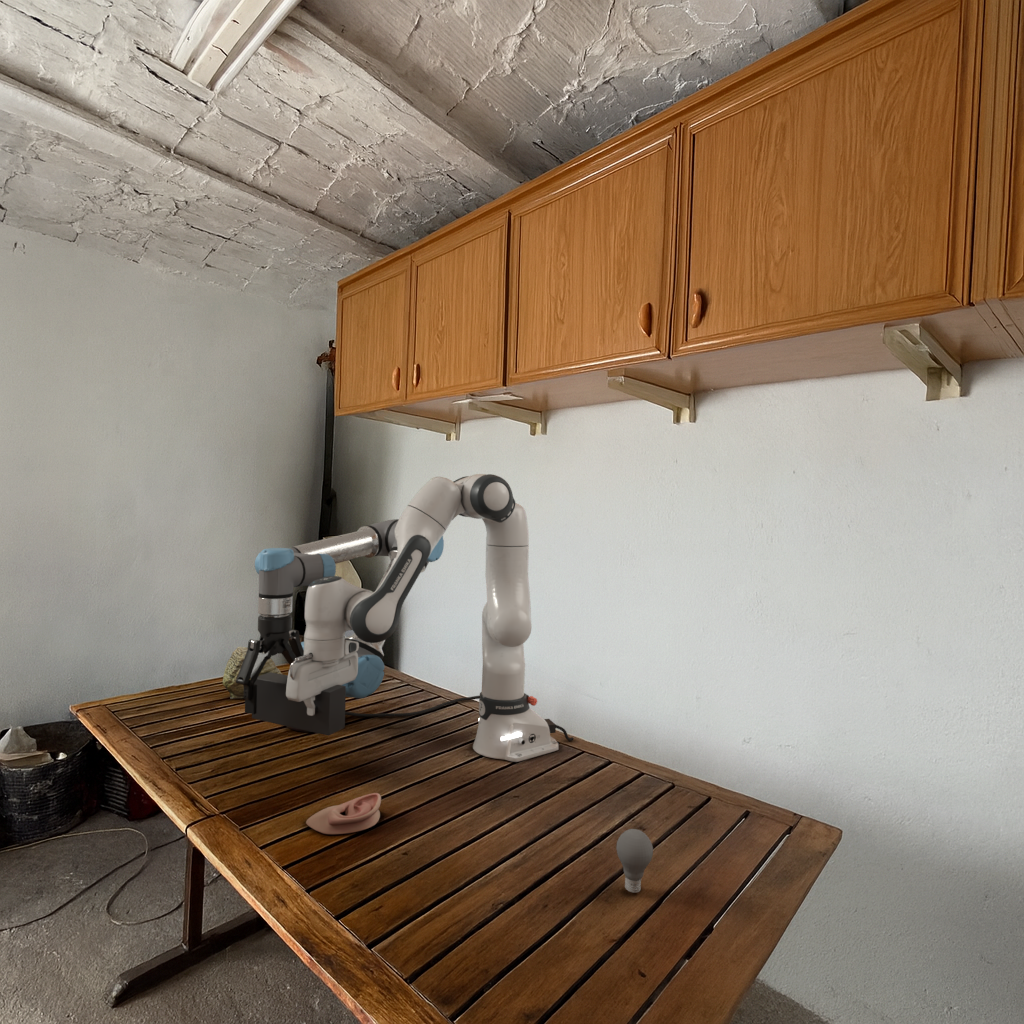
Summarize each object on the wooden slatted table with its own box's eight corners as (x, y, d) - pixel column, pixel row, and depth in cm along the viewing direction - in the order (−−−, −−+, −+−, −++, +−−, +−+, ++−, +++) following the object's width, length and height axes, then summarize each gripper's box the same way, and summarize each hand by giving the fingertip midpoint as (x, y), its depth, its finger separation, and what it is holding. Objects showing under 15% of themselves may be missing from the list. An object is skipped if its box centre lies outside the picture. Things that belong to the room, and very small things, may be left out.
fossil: (218, 695, 195) (220, 647, 195) (278, 685, 208) (279, 640, 207) (228, 703, 189) (230, 653, 188) (289, 692, 201) (290, 645, 201)
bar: (251, 718, 148) (252, 677, 148) (269, 711, 153) (270, 672, 153) (328, 735, 139) (329, 692, 138) (344, 727, 144) (346, 686, 144)
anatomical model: (298, 809, 120) (327, 783, 131) (297, 830, 120) (327, 802, 131) (363, 819, 117) (388, 791, 128) (362, 840, 117) (387, 811, 128)
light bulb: (610, 879, 108) (613, 822, 108) (644, 879, 109) (647, 822, 109) (619, 902, 102) (622, 840, 102) (655, 901, 103) (658, 840, 103)
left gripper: (245, 625, 135) (243, 723, 136) (323, 608, 158) (321, 692, 159) (219, 621, 138) (217, 717, 139) (300, 604, 161) (297, 687, 162)
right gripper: (302, 661, 132) (301, 727, 132) (363, 641, 150) (361, 699, 151) (279, 657, 134) (278, 721, 135) (341, 638, 153) (340, 695, 153)
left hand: (272, 704), depth 149 cm, fingers open, 13 cm apart
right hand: (322, 709), depth 143 cm, fingers closed on bar, 5 cm apart
